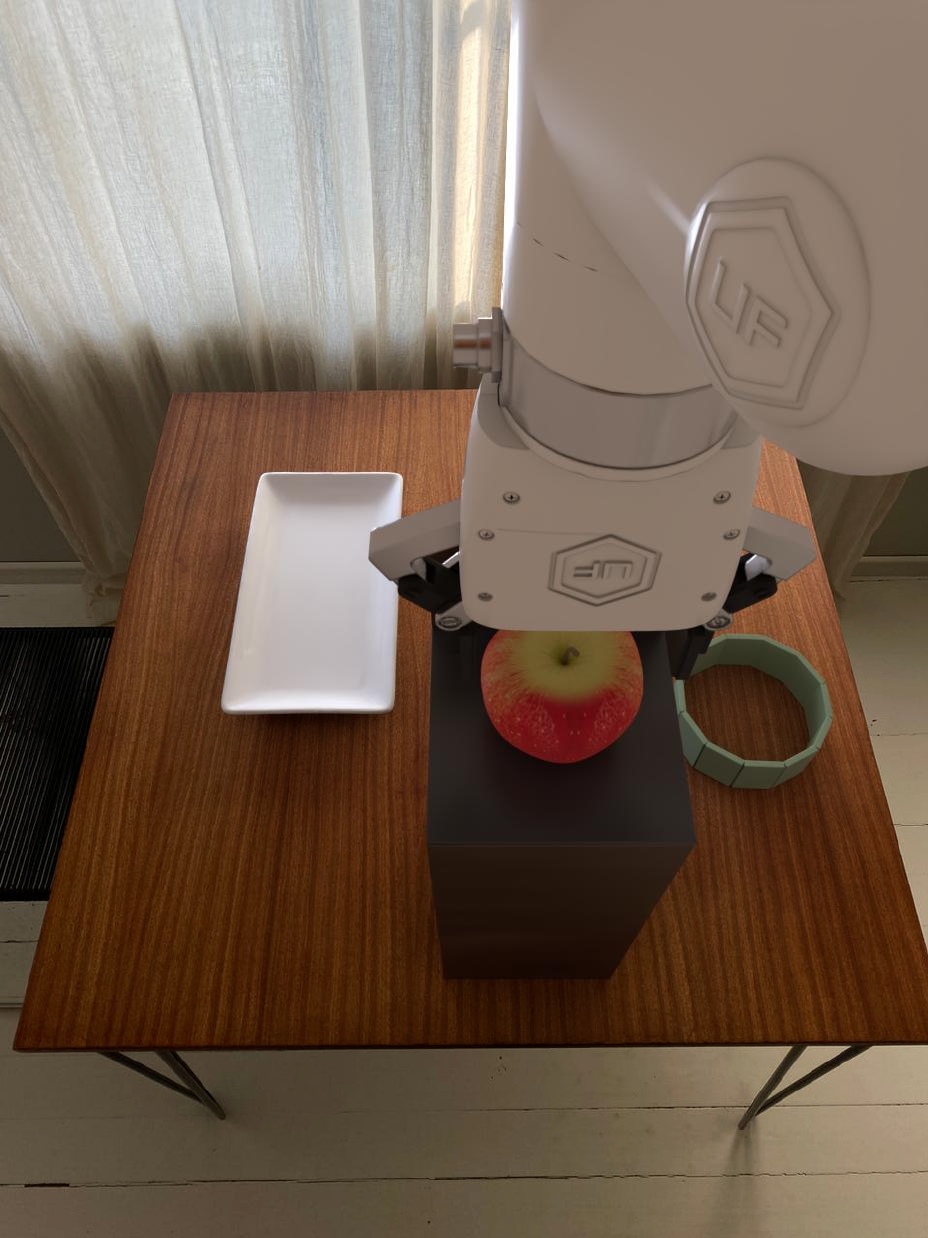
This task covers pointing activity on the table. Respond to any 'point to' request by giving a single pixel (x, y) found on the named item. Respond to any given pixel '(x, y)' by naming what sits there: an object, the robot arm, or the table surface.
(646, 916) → the stand
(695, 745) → the faceted green band
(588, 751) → the apple
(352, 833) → the table surface
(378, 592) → the tray
